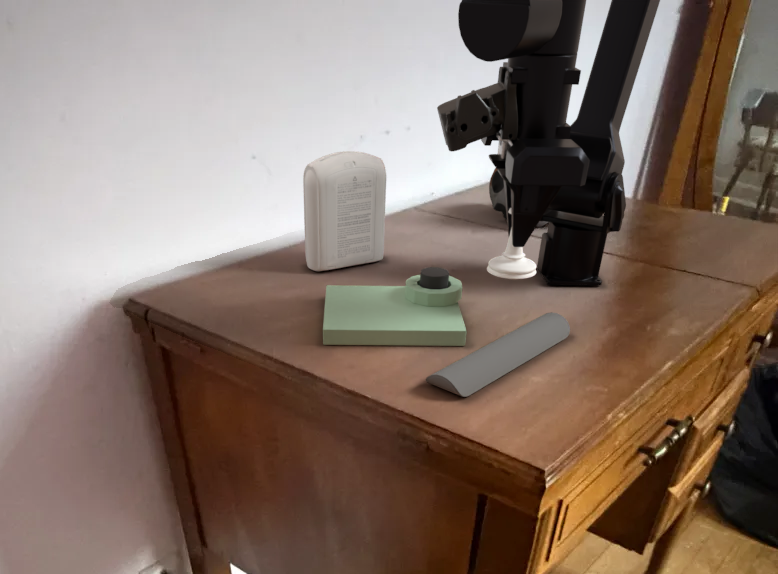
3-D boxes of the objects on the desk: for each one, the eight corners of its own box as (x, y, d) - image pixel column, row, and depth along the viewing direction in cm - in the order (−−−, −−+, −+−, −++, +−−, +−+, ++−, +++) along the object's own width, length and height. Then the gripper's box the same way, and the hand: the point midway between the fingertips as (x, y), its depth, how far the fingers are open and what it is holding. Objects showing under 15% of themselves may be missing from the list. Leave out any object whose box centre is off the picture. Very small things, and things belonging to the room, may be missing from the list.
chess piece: (539, 266, 73) (556, 157, 67) (532, 281, 70) (549, 168, 63) (491, 260, 75) (504, 153, 68) (482, 275, 71) (494, 163, 65)
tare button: (446, 281, 77) (447, 267, 76) (449, 291, 75) (450, 276, 74) (418, 281, 77) (419, 266, 76) (420, 291, 75) (421, 276, 74)
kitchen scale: (455, 300, 80) (458, 273, 78) (469, 346, 71) (472, 316, 69) (326, 299, 80) (326, 272, 78) (323, 345, 70) (322, 315, 69)
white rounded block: (370, 252, 93) (372, 144, 85) (389, 261, 90) (392, 151, 82) (300, 265, 88) (295, 153, 80) (318, 275, 85) (314, 160, 78)
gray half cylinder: (572, 335, 73) (575, 318, 72) (459, 402, 62) (461, 383, 61) (536, 324, 75) (539, 307, 74) (420, 386, 64) (422, 368, 63)
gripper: (437, 39, 68) (426, 215, 78) (461, 63, 53) (443, 275, 63) (555, 42, 68) (529, 216, 78) (609, 66, 54) (569, 276, 63)
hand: (516, 243), depth 71 cm, fingers closed on chess piece
